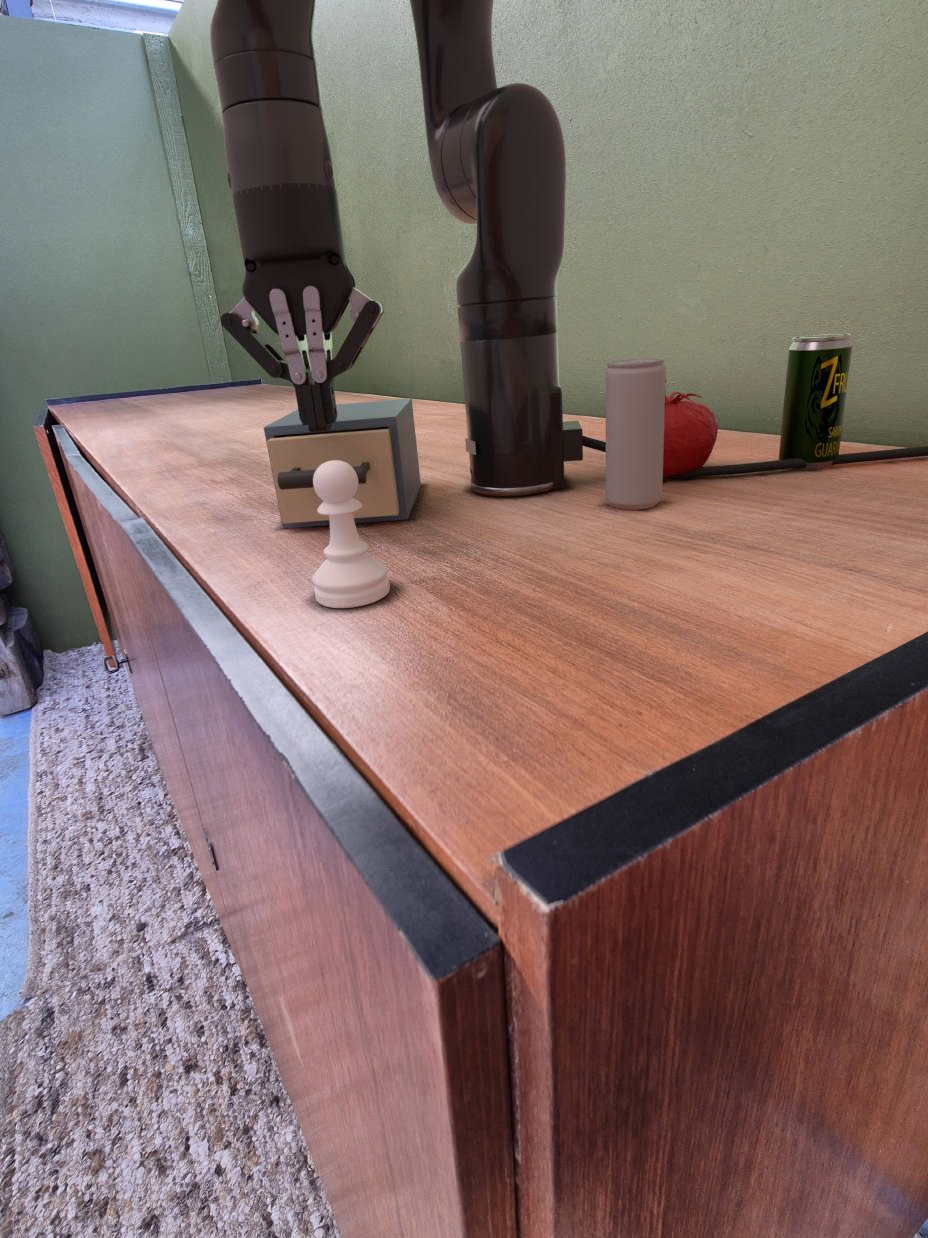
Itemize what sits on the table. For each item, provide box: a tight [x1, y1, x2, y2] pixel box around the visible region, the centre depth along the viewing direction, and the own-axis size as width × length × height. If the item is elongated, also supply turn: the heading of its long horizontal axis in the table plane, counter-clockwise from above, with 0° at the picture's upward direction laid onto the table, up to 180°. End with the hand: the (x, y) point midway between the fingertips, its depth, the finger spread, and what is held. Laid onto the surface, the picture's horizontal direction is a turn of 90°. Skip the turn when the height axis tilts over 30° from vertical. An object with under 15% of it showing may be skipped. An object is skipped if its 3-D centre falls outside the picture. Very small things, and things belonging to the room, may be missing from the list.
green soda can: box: [778, 332, 853, 471], centre depth 69 cm, size 5×5×12 cm
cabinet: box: [263, 397, 422, 529], centre depth 69 cm, size 14×12×9 cm
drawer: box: [266, 427, 399, 524], centre depth 65 cm, size 17×10×7 cm, turn 178°
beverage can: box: [604, 357, 667, 511], centre depth 61 cm, size 5×5×12 cm
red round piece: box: [663, 378, 719, 478], centre depth 71 cm, size 10×10×9 cm
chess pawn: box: [311, 460, 391, 609], centre depth 46 cm, size 5×5×9 cm
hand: (320, 430), depth 59 cm, fingers closed
